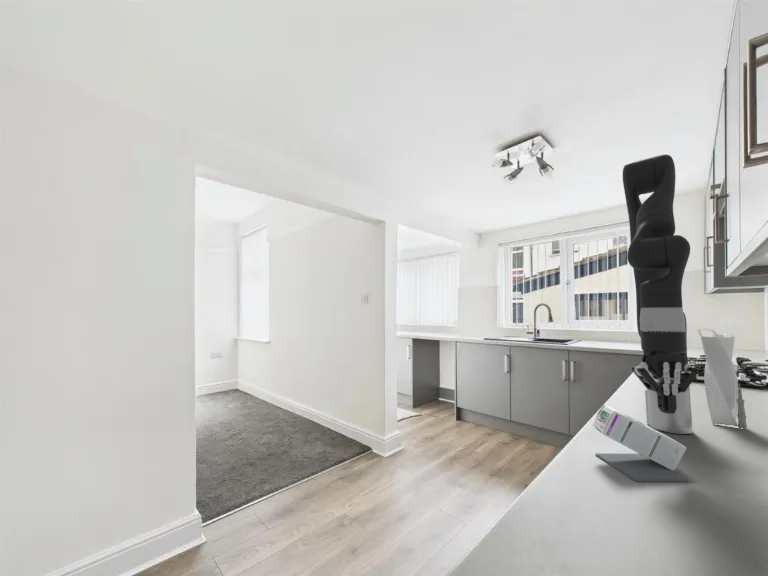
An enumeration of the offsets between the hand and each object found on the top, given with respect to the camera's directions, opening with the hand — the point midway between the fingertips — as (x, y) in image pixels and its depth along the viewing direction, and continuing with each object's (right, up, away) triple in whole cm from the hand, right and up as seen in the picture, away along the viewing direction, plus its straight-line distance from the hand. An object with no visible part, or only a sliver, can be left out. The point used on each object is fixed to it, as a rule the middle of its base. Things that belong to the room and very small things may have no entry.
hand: (667, 412), depth 71 cm
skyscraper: (+40, -14, +28) cm, 51 cm away
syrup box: (+1, -9, 0) cm, 9 cm away
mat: (-7, -11, -1) cm, 13 cm away
